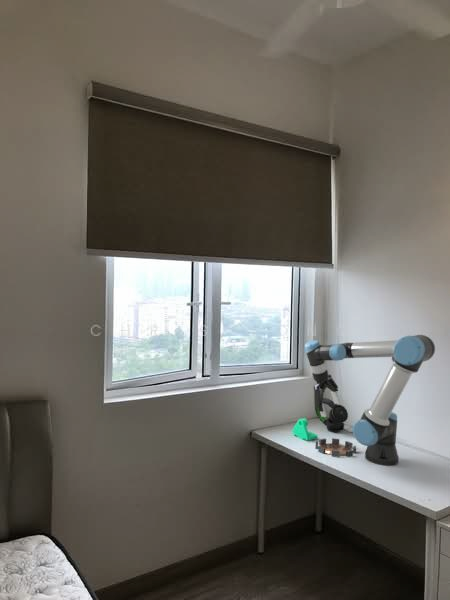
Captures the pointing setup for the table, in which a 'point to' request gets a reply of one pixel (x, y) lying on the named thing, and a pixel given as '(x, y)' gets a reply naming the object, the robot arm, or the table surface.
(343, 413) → the headset
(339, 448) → the ring collar
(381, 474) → the table surface
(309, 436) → the camera mount
